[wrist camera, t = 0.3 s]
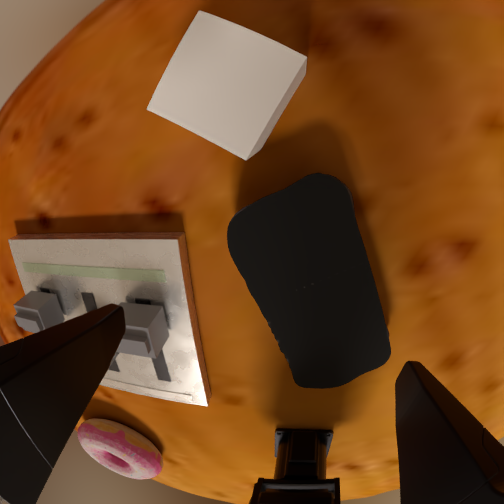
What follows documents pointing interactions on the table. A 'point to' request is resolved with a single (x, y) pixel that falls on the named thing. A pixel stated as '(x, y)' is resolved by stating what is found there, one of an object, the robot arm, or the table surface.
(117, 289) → the panel
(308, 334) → the black sponge
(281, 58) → the white cube
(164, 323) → the block
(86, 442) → the donut
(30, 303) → the breaker
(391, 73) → the table surface
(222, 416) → the table surface
